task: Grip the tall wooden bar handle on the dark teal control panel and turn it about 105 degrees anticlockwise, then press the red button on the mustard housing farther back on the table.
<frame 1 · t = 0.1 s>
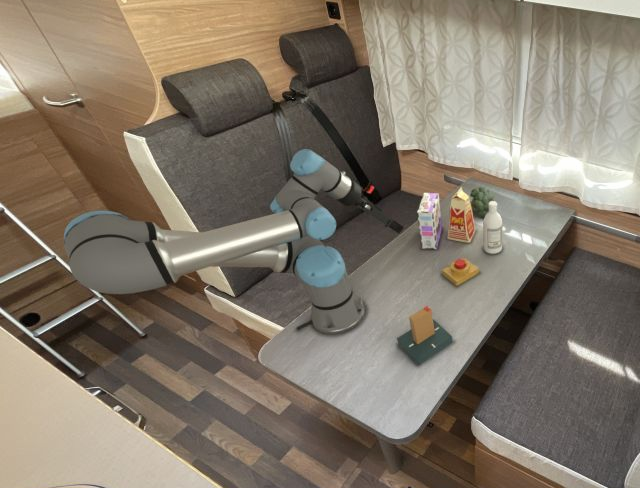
hand: (389, 221, 137), 15 cm above the table, tool tilted 35°, fingers open, 13 cm apart
milk carton: (461, 234, 158), on the table
button: (460, 264, 138), point 4 cm above the table, slide at 0.1 cm
bath foam: (492, 249, 152), on the table
button box: (460, 273, 141), on the table
candy box: (432, 238, 156), on the table
vegetable: (478, 213, 170), on the table
panel: (425, 343, 117), on the table
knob: (422, 325, 112), point 8 cm above the table, hinge at 0.0°
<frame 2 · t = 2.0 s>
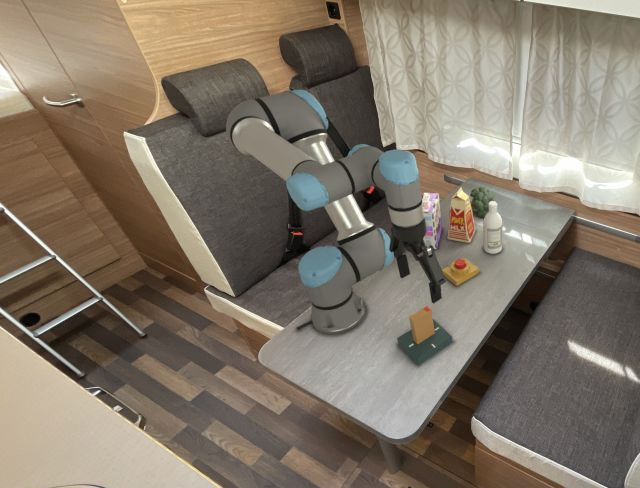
hand: (420, 287, 105), 21 cm above the table, tool pointing down, fingers open, 13 cm apart
nothing on the table moved.
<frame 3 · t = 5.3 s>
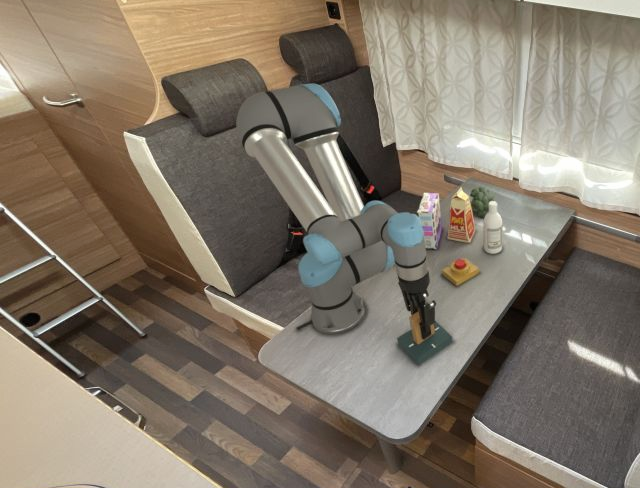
hand: (423, 333, 114), 4 cm above the table, tool pointing down, fingers closed on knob, 2 cm apart
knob: (422, 325, 112), point 8 cm above the table, hinge at 2.1°, touching gripper
everything else where it was.
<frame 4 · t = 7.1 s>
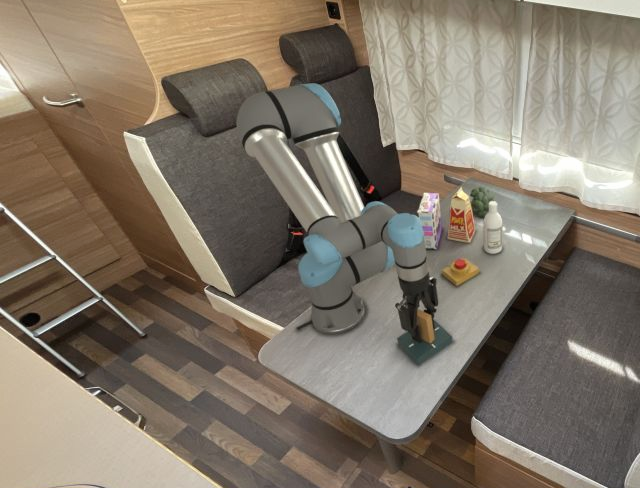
hand: (423, 333, 114), 5 cm above the table, tool pointing down, fingers open, 5 cm apart
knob: (422, 325, 112), point 8 cm above the table, hinge at 104.6°
everything else where it was.
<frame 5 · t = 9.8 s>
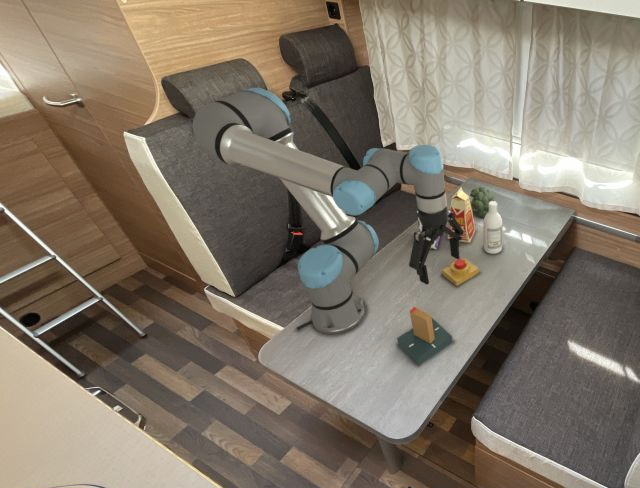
hand: (440, 269, 117), 17 cm above the table, tool pointing down, fingers open, 13 cm apart
nothing on the table moved.
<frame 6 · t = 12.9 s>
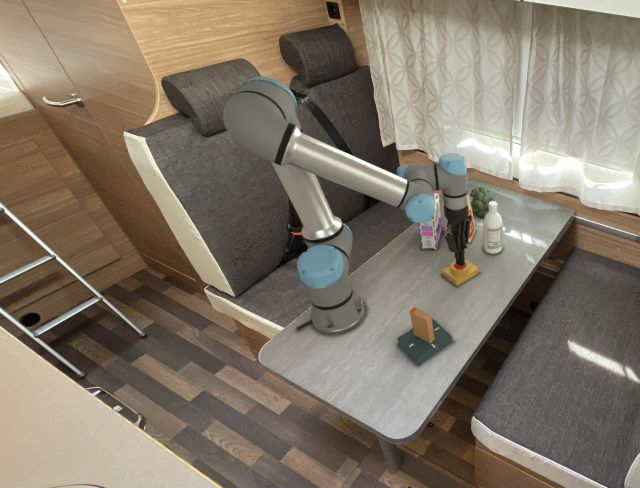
hand: (460, 263, 138), 5 cm above the table, tool pointing down, fingers closed
button: (460, 266, 138), point 4 cm above the table, slide at -0.8 cm, touching gripper
everything else where it was.
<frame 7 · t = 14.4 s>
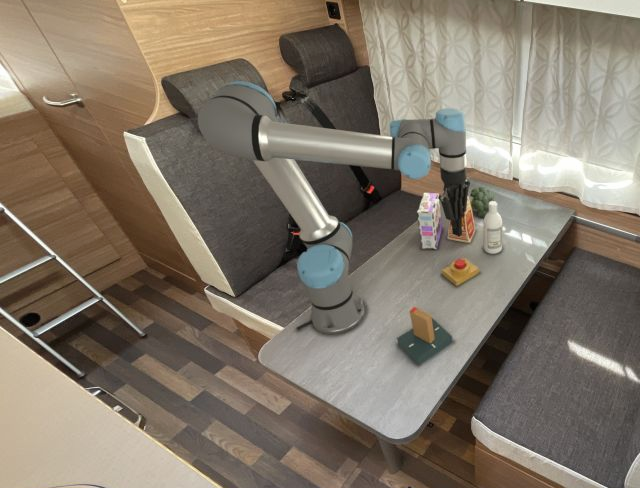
hand: (457, 234, 129), 17 cm above the table, tool pointing down, fingers closed
button: (460, 264, 138), point 4 cm above the table, slide at 0.1 cm
everything else where it was.
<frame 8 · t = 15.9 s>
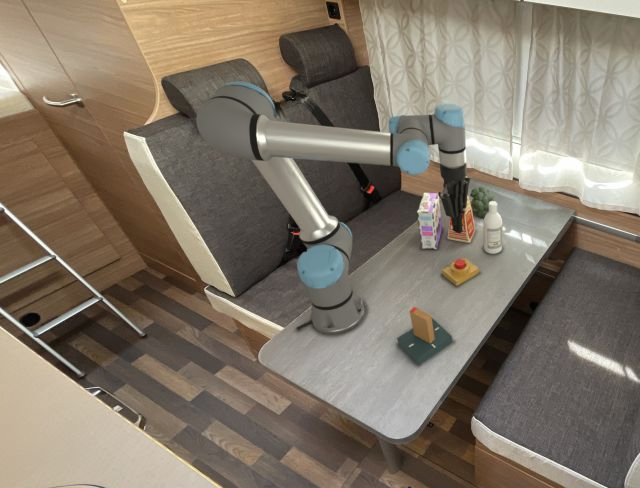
hand: (457, 231, 129), 18 cm above the table, tool pointing down, fingers closed
nothing on the table moved.
at the end: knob at +105° (first picture: +0°); button pushed in 1.0 cm at the most during the clip, back to where it started at the end; button slide at 0.1 cm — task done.
